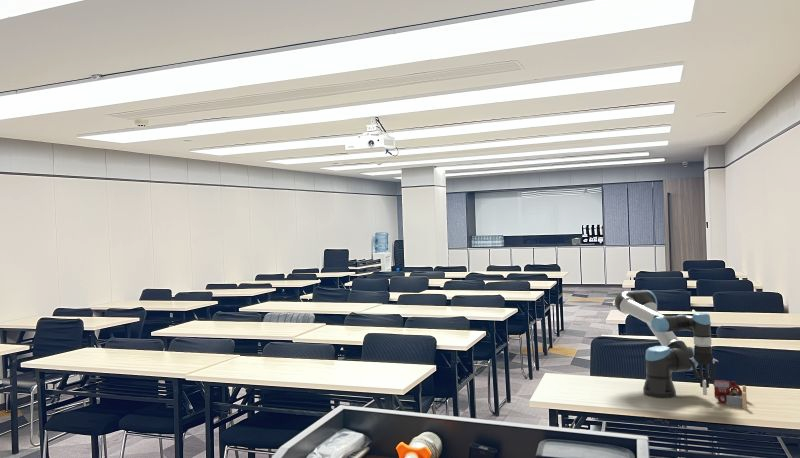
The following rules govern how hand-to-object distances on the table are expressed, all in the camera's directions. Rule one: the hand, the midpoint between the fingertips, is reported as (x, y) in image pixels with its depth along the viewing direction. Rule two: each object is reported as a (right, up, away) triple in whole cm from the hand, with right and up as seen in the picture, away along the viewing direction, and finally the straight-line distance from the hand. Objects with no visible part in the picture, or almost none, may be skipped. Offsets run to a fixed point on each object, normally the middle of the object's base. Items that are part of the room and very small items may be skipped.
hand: (705, 394), depth 274 cm
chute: (+11, -2, -7) cm, 13 cm away
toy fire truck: (+9, -3, -5) cm, 10 cm away
